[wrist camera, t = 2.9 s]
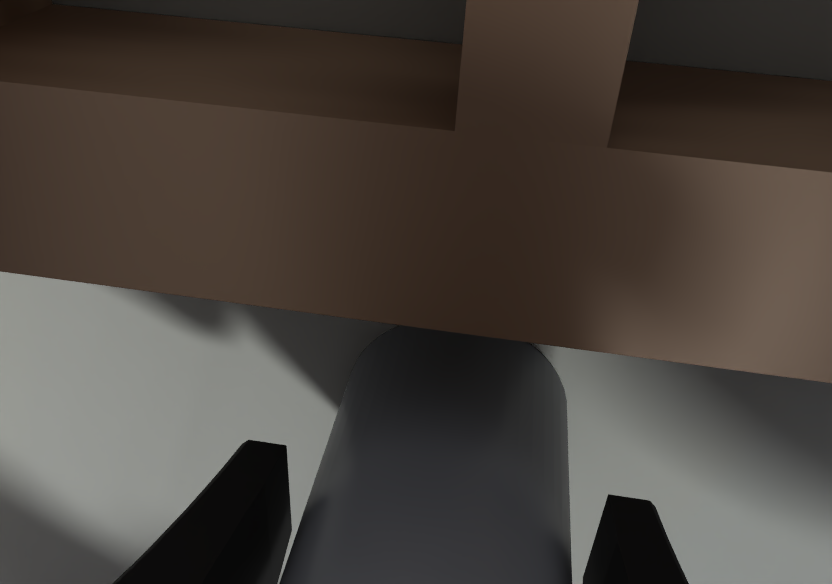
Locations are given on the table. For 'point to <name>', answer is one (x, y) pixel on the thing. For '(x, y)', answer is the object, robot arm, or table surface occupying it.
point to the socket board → (427, 178)
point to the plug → (441, 468)
